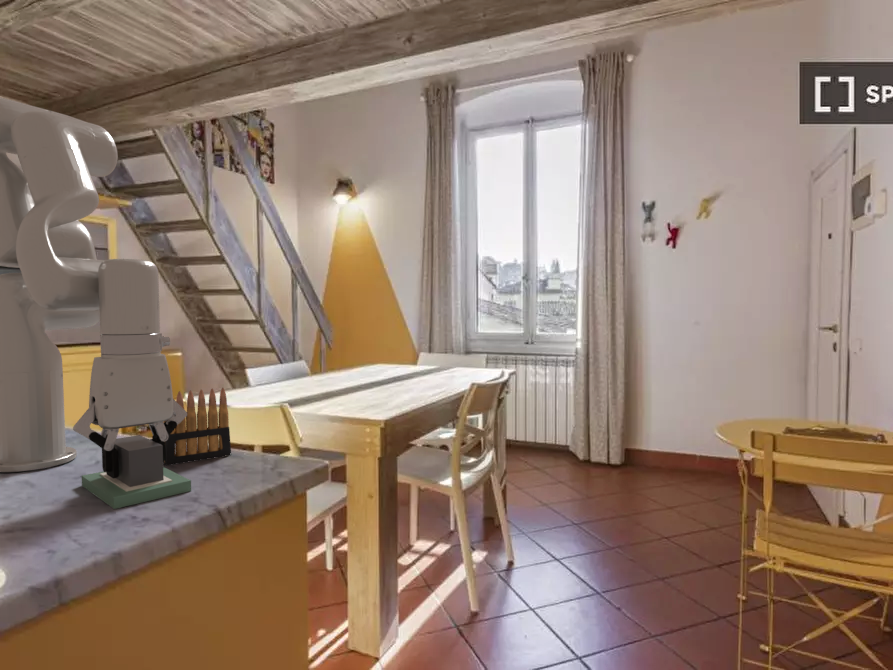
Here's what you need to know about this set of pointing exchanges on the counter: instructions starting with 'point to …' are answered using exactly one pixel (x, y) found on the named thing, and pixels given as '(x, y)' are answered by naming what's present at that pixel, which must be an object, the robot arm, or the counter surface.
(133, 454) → the block
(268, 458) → the counter surface
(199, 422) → the ammunition clip
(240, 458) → the counter surface
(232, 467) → the counter surface
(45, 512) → the counter surface
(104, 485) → the header board
